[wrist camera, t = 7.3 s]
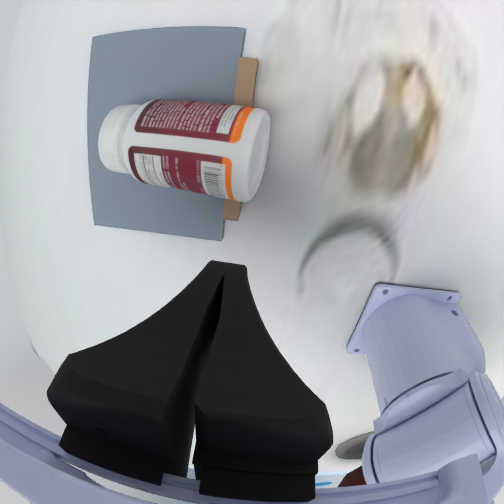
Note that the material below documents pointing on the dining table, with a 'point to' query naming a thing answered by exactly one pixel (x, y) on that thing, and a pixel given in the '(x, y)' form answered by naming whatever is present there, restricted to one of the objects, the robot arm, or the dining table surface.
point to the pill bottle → (189, 146)
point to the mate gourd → (353, 451)
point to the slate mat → (173, 88)
